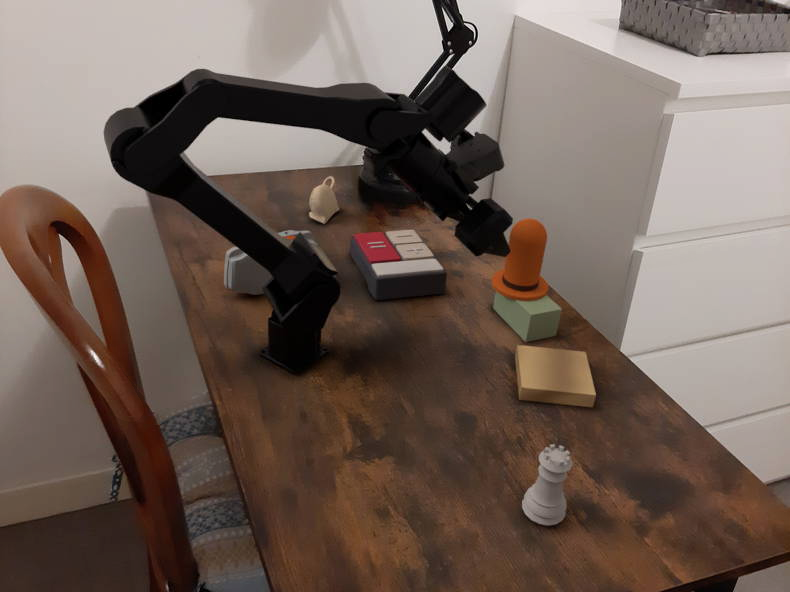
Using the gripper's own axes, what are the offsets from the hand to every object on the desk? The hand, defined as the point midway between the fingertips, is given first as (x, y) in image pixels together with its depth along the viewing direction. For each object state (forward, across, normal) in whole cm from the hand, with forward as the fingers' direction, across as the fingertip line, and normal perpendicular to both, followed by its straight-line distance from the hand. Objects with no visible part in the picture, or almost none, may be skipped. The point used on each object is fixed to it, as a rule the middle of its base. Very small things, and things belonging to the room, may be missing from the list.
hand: (489, 237), depth 100 cm
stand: (+11, -16, +8) cm, 20 cm away
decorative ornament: (+1, +38, +14) cm, 41 cm away
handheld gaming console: (-8, +17, +27) cm, 33 cm away
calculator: (+5, +16, +14) cm, 21 cm away
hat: (+10, 0, +2) cm, 11 cm away
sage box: (+14, -2, +5) cm, 15 cm away
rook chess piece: (+2, -34, +17) cm, 38 cm away
